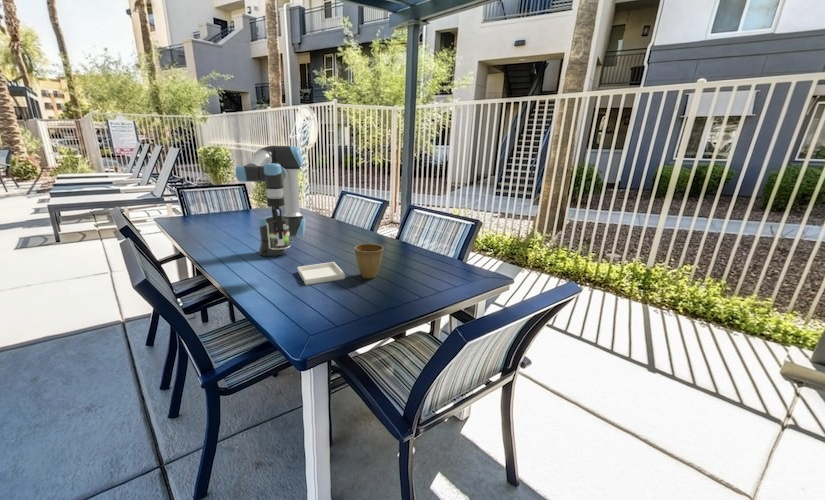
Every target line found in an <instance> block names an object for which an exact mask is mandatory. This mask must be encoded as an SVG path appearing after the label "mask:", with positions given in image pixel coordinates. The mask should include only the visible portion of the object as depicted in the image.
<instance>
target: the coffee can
mask: <svg viewBox="0 0 825 500" xmlns="http://www.w3.org/2000/svg"><path fill="white" fill-rule="evenodd" d="M288 220H289V219H288V218H287V217H283V216H282V223H283V230H284V232H283V237H284V245H281V246H278V240H277V233H276V231H277V226H276V223H277V222H276V220H275V219H274V218H273V217H271V218H267V219H266V224H267V234H268V244H269V248H270V249H273V250H282V249H285V250H287V249H290V248H291V246H292V245H291V237H290V234H289V221H288ZM279 230H281V229H279Z"/></svg>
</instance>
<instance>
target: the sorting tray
mask: <svg viewBox="0 0 825 500" xmlns="http://www.w3.org/2000/svg"><path fill="white" fill-rule="evenodd" d="M297 273H298V274H299V276H300V278H301V280H302V282H303V281H304V282H303V283H304V285H305V286H310V285H317V284H322V283H328V282H336V281H341V280H342V281H343V280H346V273H345V272H344V271H343V270H342V269H341V267H340V266H338V265H337V263H336V262H335V261H331V262H324V263H316V264H315V263H314V264H309V265H302V266H297Z"/></svg>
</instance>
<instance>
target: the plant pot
mask: <svg viewBox="0 0 825 500" xmlns="http://www.w3.org/2000/svg"><path fill="white" fill-rule="evenodd" d="M354 254H355V257H356V258H355V259H356V262H357V263H356V264H357V265H358V266H357V267H358V269H359V271H360V276H361V277H362V278H363V279H375V278H376V277H377V274H378V272H379V269H380V266H381V263H382V258H383V254H384V247H383V245H380V244H376V243H362V244H357V245H356V246H355V247H354Z"/></svg>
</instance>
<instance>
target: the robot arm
mask: <svg viewBox="0 0 825 500" xmlns="http://www.w3.org/2000/svg"><path fill="white" fill-rule="evenodd" d="M303 165H304V164H303V158H302V153H301V150H300V147H298V146H296V145H295V146H294V145H268V146H263V147H262V148H260V149H258V150H257V151H255V153H254V154H253V158H251V160H250V161H248V162H247V163H246V165H243V164H241V165H237V166H236V167H235V177H236V180H237V181H239V182H243V183H244V182H245V183H246V182H248V183H252V182H254V183H255V182H256V183H257V182H259V183H262V182H263V183H264V184H265V190H264V193H266V204H267V205H266V206H268V207H271V213H272V214H271V215H269V216H264V217H261V218H260V219H259V220H258V221H259V222H258V223H259V225H258V227H259V234H260V245H259V246H260V247H259V249H258V253H259V254H260V255H259V256H261V255H262V256H261V257H264V256H269V257H268V258H270V257H271V256H274V257H278V256H279V255H280V256H283V255H285V254H286V249H282V250H273V249H270V248H269V244H268V234H267V224H266V219H267V218H271V217H273V218H274V219H275V220H276V222H277V223H276V226H277V231H276V233H277V240H278V246H281V245H284V237H283V232H284V230H283V223H282V217H287V218H288V219H289V220H288V221H289V234H290V238H299V237H300V238H301V237H304V235H305V232H306V231H305V230H306V222H307V219H306V218H305V217H304V215H303V213H302V212H301V207H300V206H301V205H300V204H301V203H300V190H299V189H300V187H299V174H298V173H299V172H300V170H301V167H303ZM281 207H284V214H282V209H281ZM279 229H281V230H279ZM282 254H283V255H282ZM271 258H272V257H271Z"/></svg>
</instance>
